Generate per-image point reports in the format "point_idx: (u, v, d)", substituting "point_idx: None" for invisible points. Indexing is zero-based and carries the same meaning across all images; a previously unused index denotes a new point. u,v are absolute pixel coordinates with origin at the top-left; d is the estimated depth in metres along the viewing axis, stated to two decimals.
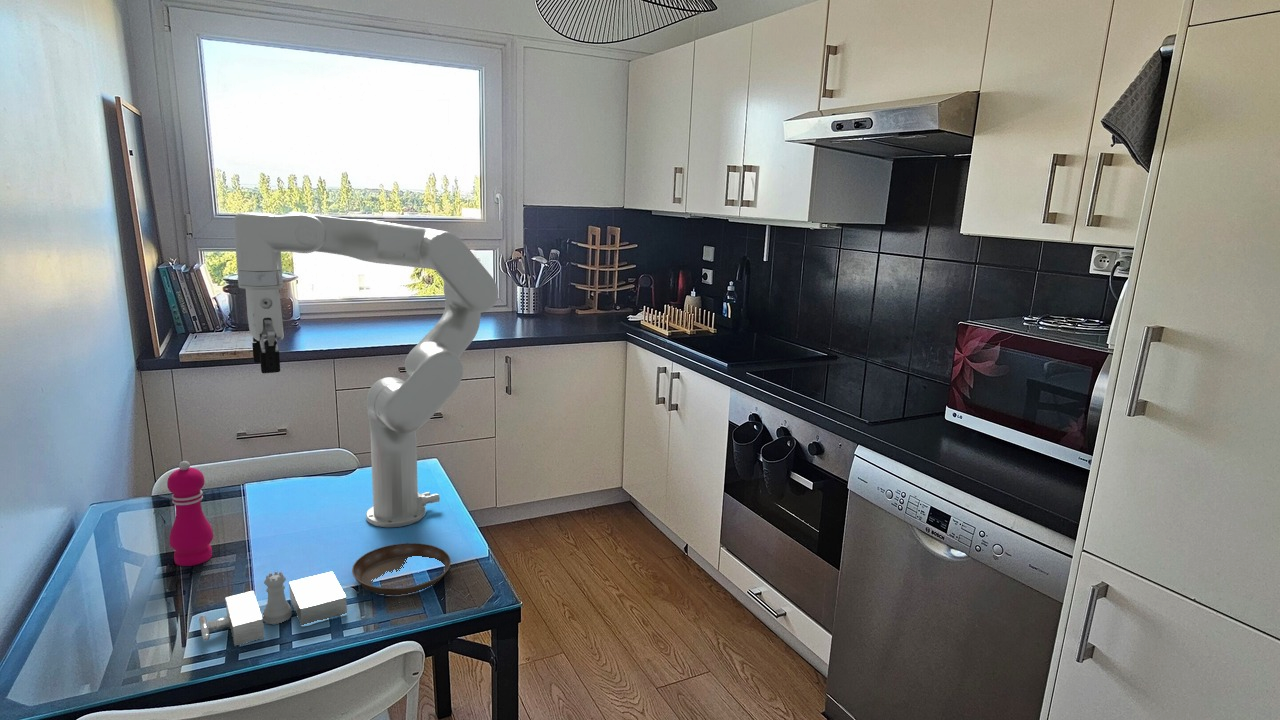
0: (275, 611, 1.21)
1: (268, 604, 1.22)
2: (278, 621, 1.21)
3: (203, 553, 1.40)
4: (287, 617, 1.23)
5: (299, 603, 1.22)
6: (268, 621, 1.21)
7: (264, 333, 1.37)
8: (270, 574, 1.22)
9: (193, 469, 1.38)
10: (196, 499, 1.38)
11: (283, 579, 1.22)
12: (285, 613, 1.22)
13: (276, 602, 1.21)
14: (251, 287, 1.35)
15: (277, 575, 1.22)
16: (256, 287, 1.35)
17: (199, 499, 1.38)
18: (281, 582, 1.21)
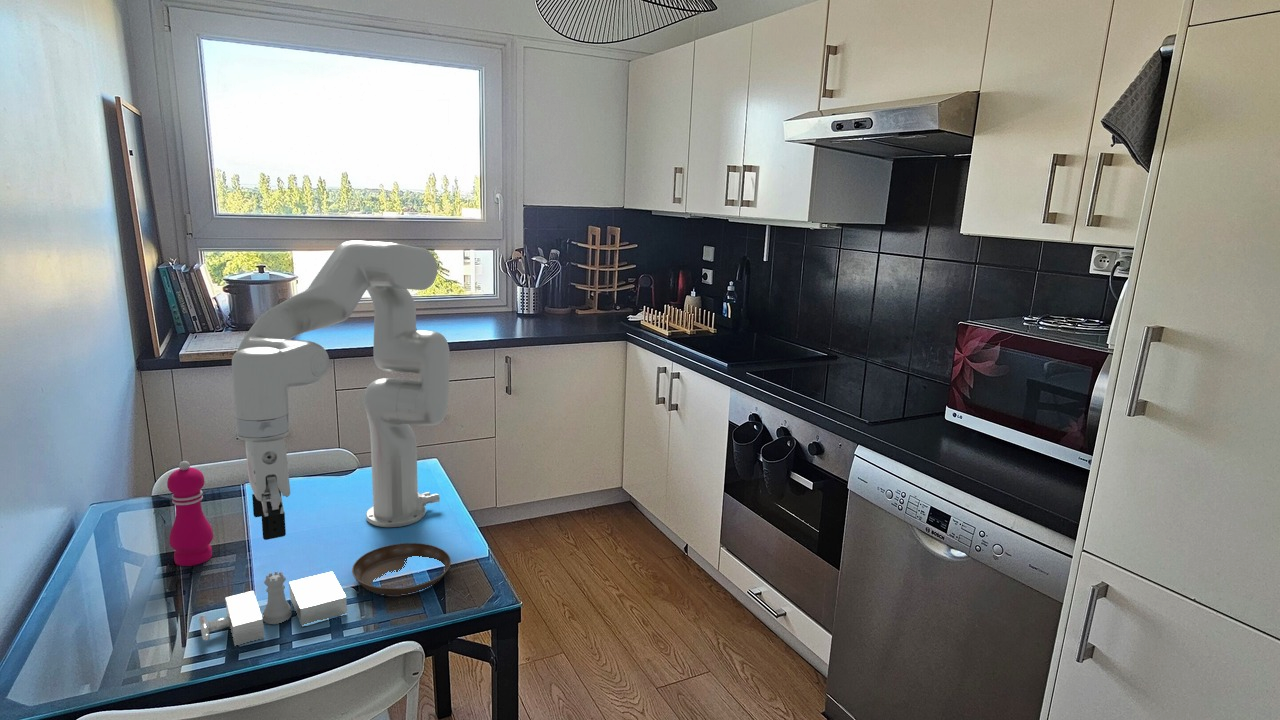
0: (275, 611, 1.21)
1: (268, 604, 1.22)
2: (278, 621, 1.21)
3: (203, 553, 1.40)
4: (287, 617, 1.23)
5: (299, 603, 1.22)
6: (268, 621, 1.21)
7: (267, 491, 1.15)
8: (270, 574, 1.22)
9: (193, 469, 1.38)
10: (196, 499, 1.38)
11: (283, 579, 1.22)
12: (285, 613, 1.22)
13: (276, 602, 1.21)
14: (252, 439, 1.12)
15: (277, 575, 1.22)
16: (258, 439, 1.12)
17: (199, 499, 1.38)
18: (281, 582, 1.21)
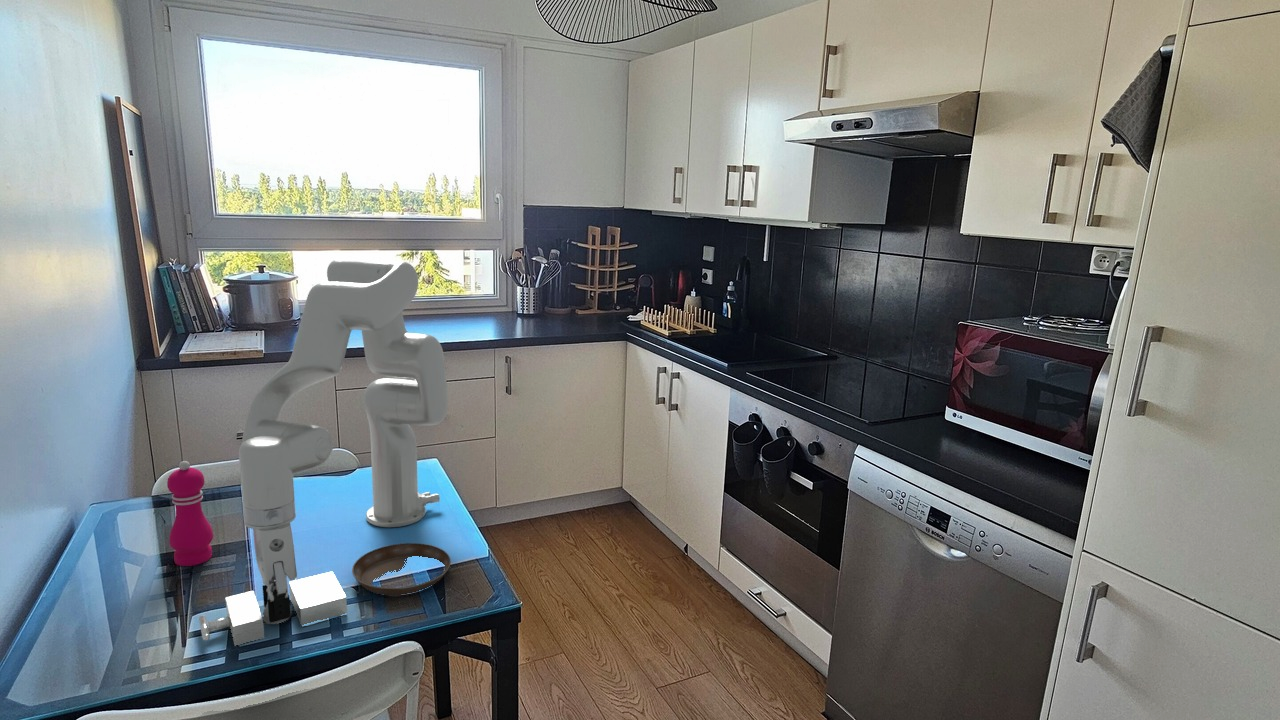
0: None
1: None
2: (278, 621, 1.21)
3: (203, 553, 1.40)
4: None
5: (299, 603, 1.22)
6: (268, 621, 1.21)
7: (274, 575, 1.18)
8: None
9: (193, 469, 1.38)
10: (196, 499, 1.38)
11: None
12: None
13: None
14: (259, 527, 1.16)
15: None
16: (265, 527, 1.16)
17: (199, 499, 1.38)
18: None
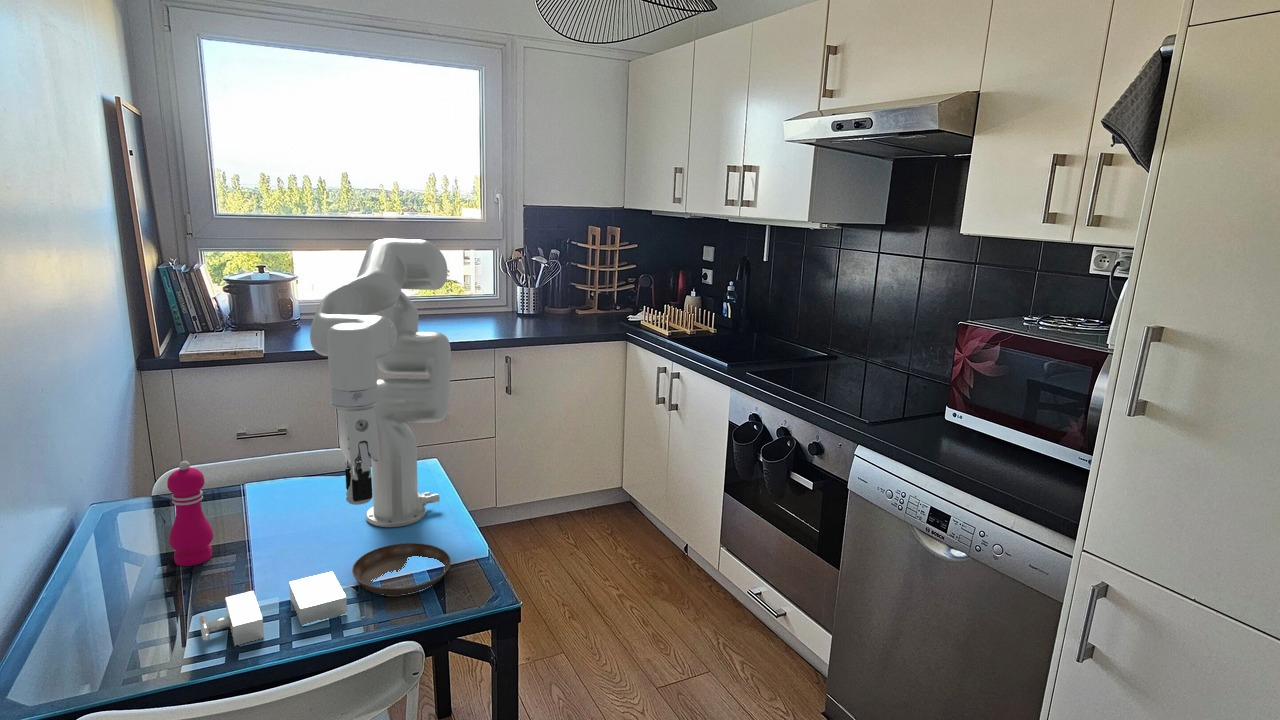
0: None
1: (351, 485, 1.28)
2: (360, 501, 1.28)
3: (203, 553, 1.40)
4: None
5: (299, 603, 1.22)
6: (351, 501, 1.28)
7: (358, 456, 1.25)
8: None
9: (193, 469, 1.38)
10: (196, 499, 1.38)
11: None
12: None
13: None
14: (346, 408, 1.22)
15: None
16: (351, 408, 1.22)
17: (199, 499, 1.38)
18: None
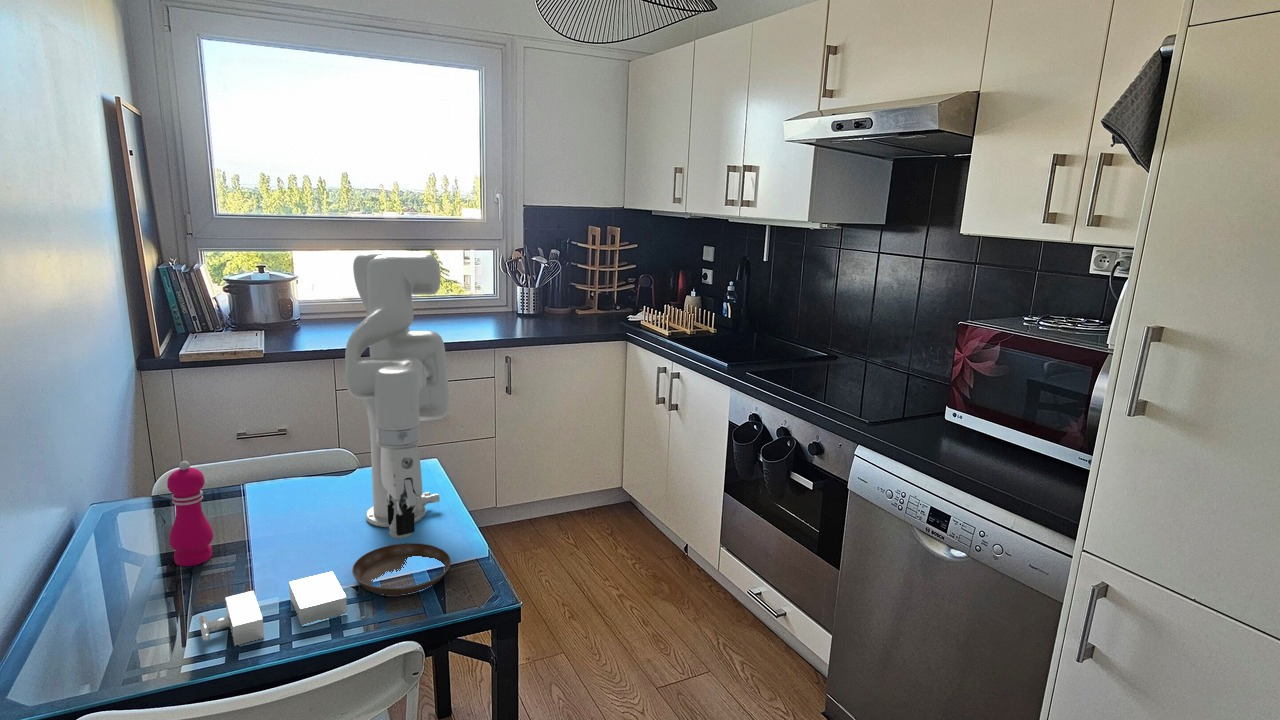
0: None
1: (394, 520, 1.34)
2: (403, 535, 1.34)
3: (203, 553, 1.40)
4: None
5: (299, 603, 1.22)
6: (394, 535, 1.34)
7: (403, 492, 1.31)
8: None
9: (193, 469, 1.38)
10: (196, 499, 1.38)
11: None
12: None
13: None
14: (392, 447, 1.28)
15: None
16: (397, 446, 1.29)
17: (199, 499, 1.38)
18: None
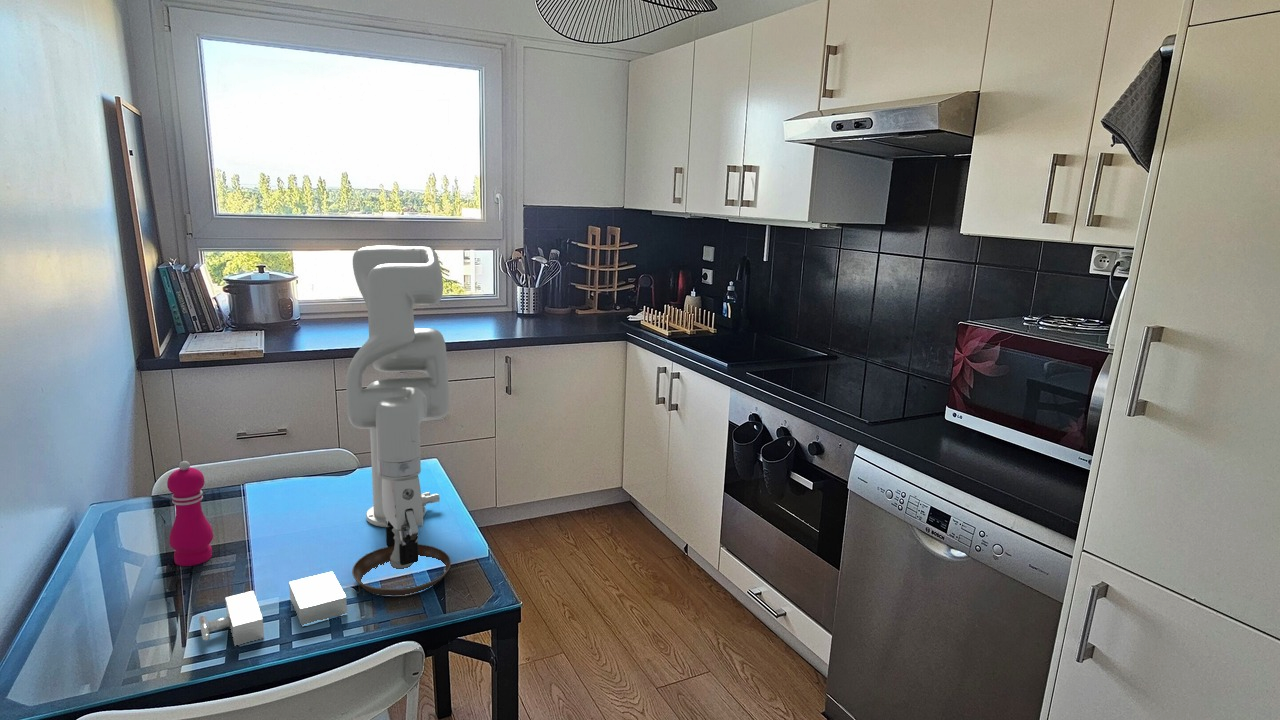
0: None
1: (395, 550, 1.36)
2: (404, 565, 1.36)
3: (203, 553, 1.40)
4: None
5: (299, 603, 1.22)
6: (396, 565, 1.36)
7: (404, 522, 1.33)
8: None
9: (193, 469, 1.38)
10: (196, 499, 1.38)
11: None
12: None
13: None
14: (393, 478, 1.30)
15: (402, 525, 1.37)
16: (398, 478, 1.30)
17: (199, 499, 1.38)
18: None
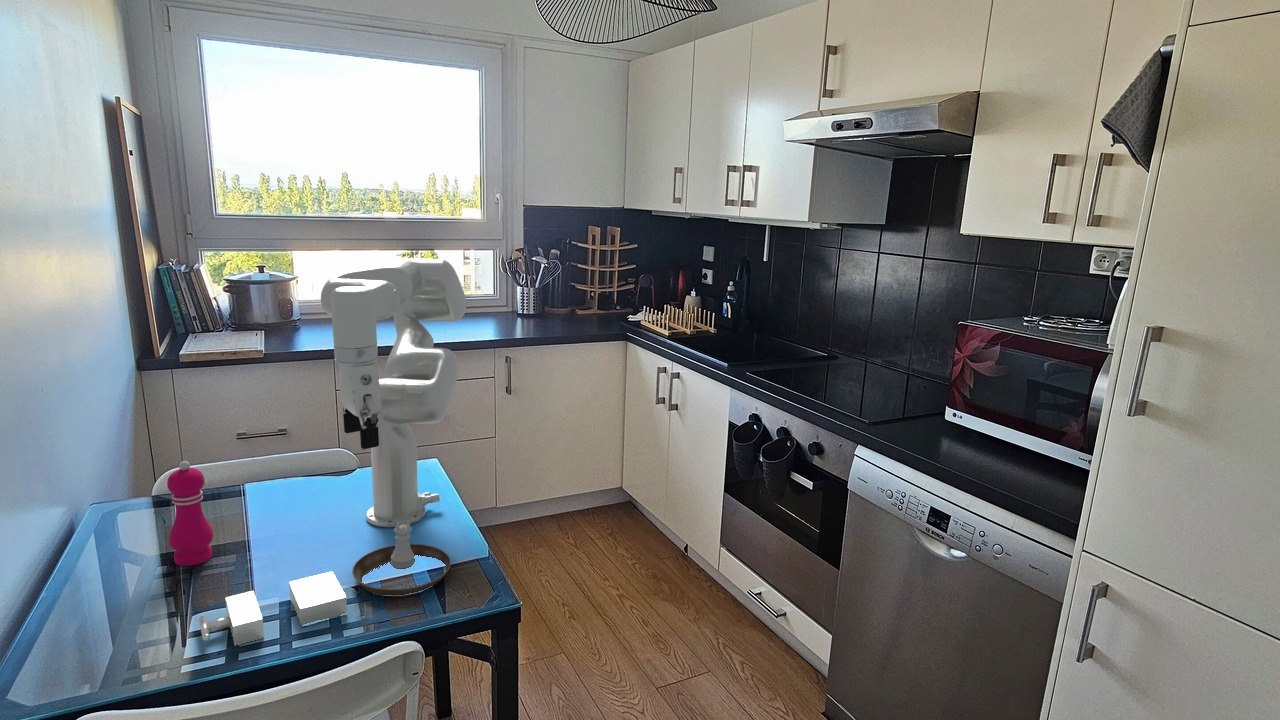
0: (404, 556, 1.36)
1: (397, 551, 1.36)
2: (406, 565, 1.36)
3: (203, 553, 1.40)
4: (412, 562, 1.37)
5: (299, 603, 1.22)
6: (397, 566, 1.35)
7: (362, 408, 1.35)
8: (398, 524, 1.36)
9: (193, 469, 1.38)
10: (196, 499, 1.38)
11: (410, 528, 1.36)
12: (411, 558, 1.36)
13: (404, 548, 1.36)
14: (350, 364, 1.32)
15: (404, 525, 1.36)
16: (355, 364, 1.33)
17: (199, 499, 1.38)
18: (409, 530, 1.36)
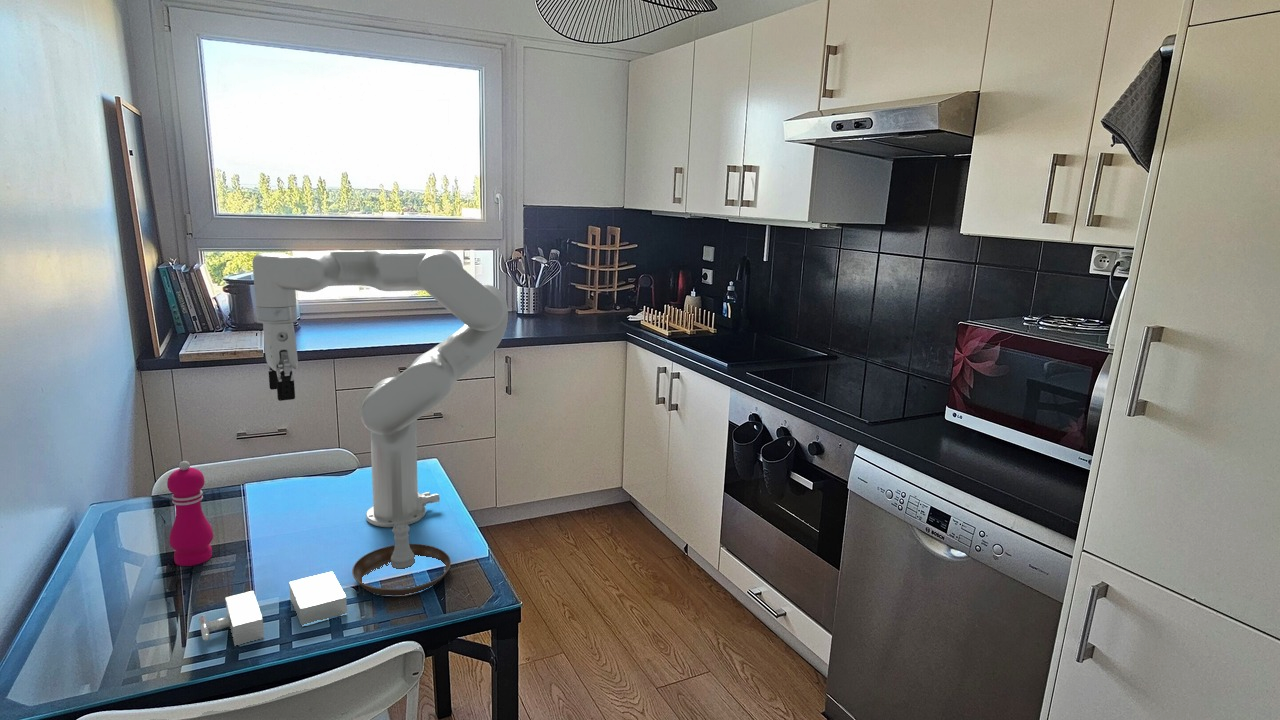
0: (405, 556, 1.36)
1: (397, 551, 1.36)
2: (408, 564, 1.36)
3: (203, 553, 1.40)
4: (413, 561, 1.37)
5: (299, 603, 1.22)
6: (399, 566, 1.35)
7: (280, 363, 1.50)
8: (395, 524, 1.36)
9: (193, 469, 1.38)
10: (196, 499, 1.38)
11: (408, 527, 1.36)
12: (412, 557, 1.37)
13: (405, 547, 1.36)
14: (268, 322, 1.47)
15: (401, 524, 1.37)
16: (273, 322, 1.47)
17: (199, 499, 1.38)
18: (408, 529, 1.36)
